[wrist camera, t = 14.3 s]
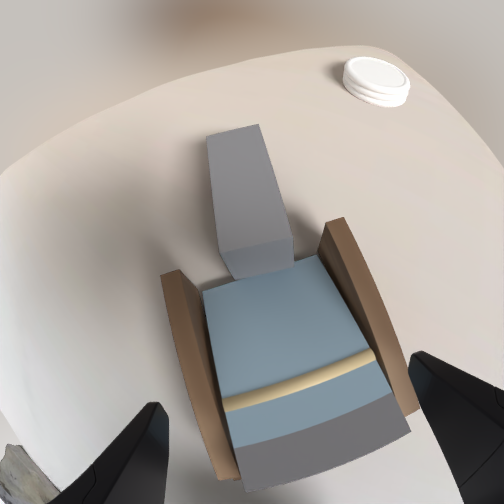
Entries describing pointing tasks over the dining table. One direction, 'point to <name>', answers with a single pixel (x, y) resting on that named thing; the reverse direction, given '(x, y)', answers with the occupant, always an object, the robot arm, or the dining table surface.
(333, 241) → the hatch frame
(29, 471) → the fossil rock
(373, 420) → the trapdoor
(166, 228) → the dining table surface
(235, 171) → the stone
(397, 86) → the coaster
